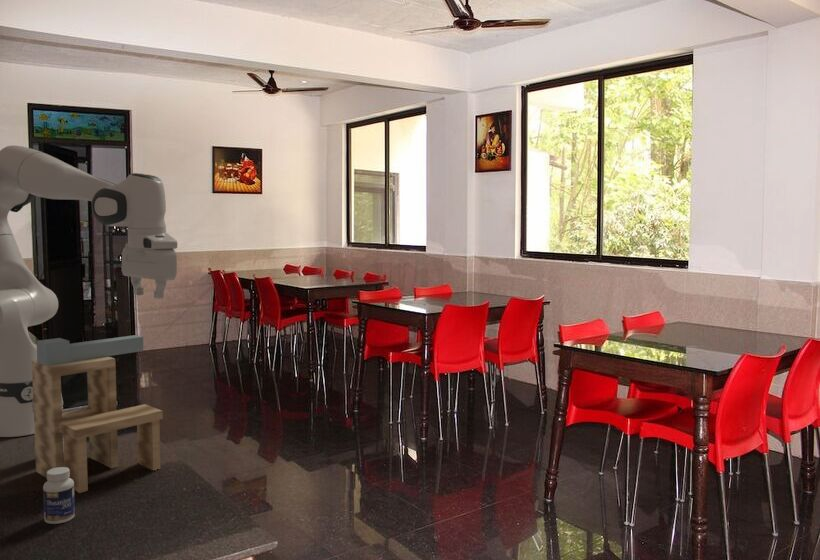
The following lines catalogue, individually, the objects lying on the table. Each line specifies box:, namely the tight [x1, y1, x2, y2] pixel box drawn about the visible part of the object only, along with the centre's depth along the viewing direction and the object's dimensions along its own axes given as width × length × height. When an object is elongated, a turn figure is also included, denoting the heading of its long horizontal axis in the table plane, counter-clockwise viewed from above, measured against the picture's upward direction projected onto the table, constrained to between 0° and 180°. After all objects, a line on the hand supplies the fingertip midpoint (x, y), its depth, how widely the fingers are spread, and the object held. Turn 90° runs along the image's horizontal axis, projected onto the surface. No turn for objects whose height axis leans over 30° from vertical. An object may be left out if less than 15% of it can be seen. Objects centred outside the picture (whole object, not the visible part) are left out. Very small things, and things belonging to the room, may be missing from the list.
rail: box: [36, 334, 144, 366], centre depth 160 cm, size 5×23×5 cm, turn 140°
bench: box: [59, 403, 164, 494], centre depth 155 cm, size 8×20×14 cm, turn 140°
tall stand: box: [32, 356, 119, 479], centre depth 158 cm, size 11×14×26 cm
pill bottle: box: [42, 467, 76, 525], centre depth 133 cm, size 5×5×10 cm
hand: (148, 296), depth 169 cm, fingers open, 8 cm apart
